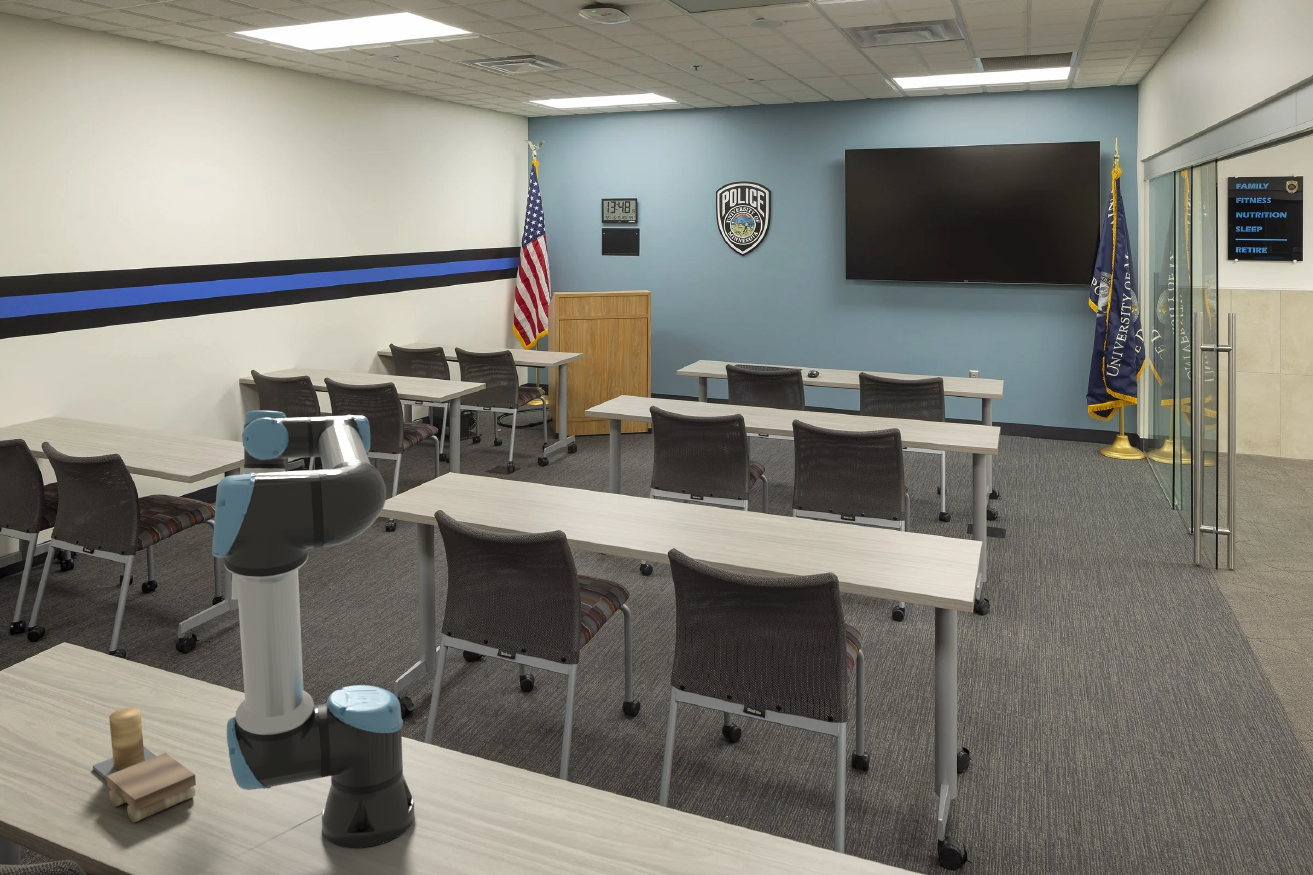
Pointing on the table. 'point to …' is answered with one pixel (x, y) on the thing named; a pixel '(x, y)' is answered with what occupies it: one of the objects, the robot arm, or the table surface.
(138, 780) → the slab
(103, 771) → the pad
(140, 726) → the roller
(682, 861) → the table surface
